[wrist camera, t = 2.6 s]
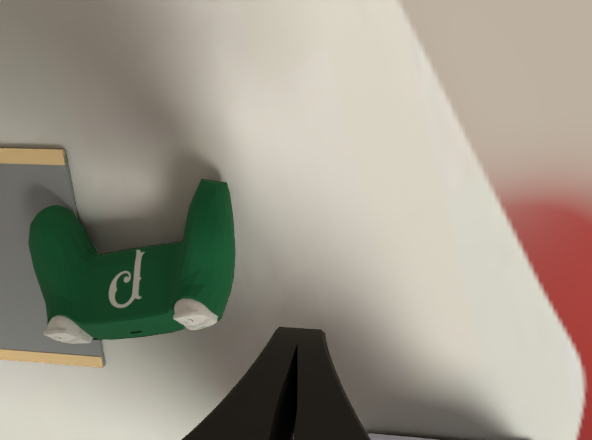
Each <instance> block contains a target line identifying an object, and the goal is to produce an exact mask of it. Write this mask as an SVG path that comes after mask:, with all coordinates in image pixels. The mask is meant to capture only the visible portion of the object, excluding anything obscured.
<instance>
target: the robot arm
mask: <svg viewBox="0 0 592 440" xmlns="http://www.w3.org/2000/svg"><path fill="white" fill-rule="evenodd" d="M293 435H294V438H293ZM182 440H438V439H427V438H416V437H405V436H394V435H383V434H372V433H370V434H367V433H366V431H365V429H364V428H363V426H362V424H361V422H360V421H359V419H358V417H357V415H356V413H355V411H354V409H353V407H352V406H351V404H350V402H349V400H348V398H347V396H346V393H345V391H344V389H343V387H342V385H341V382H340V380H339V378H338V375H337V373H336V371H335V368H334V365H333V363H332V360H331V357H330V354H329V351H328V347H327V343H326V338H325V333H324V332H323V331H322V330H317V329H302V328H286V327H279V328H278V329H277V330H276V331H275V332H274V334H273V336H272V338H271V339H270V341H269V342H268V344H267V345H266V347H265V348H264V350H263V351H262V353H261V354H260V355H259V357H258V358H257V359H256V361H255V362H254V363H253V365H252V366H251V367H250V369H249V370H248V371H247V373H246V374H245V375H244V376H243V377H242V379H241V380H240V381H239V382H238V383H237V384H236V386H235V387H234V388H233V389H232V390H231V391H230V393H229V394H228V395H227V396H226V397H225V398H224V399H223V400H222V401H221V403H220V404H219V405H218V406H217V407H216V408H215V409H214V410H213V411H212V412H211V413H210V414H209V415H208V416H207V417H206V418H205V419H204V420H203V421H202V422H201V423H200V424H199V425H198V426H196V427H195V428H194V429H193V430H192V431H191V432H190V433H189V434H188V435H186V436H185V437H184V438H183V439H182Z"/></svg>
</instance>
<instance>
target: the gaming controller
mask: <svg viewBox="0 0 592 440" xmlns="http://www.w3.org/2000/svg"><path fill="white" fill-rule="evenodd" d="M28 245H29V249H30V254H31V259H32V263H33V268H34V271H35V274H36V277H37V280H38V283H39V286H40V289H41V292H42V295H43V298H44V301H45V304H46V311H47V324H48V327H47V330H45V331H44V333H43V335H46V336H48V337H50V338H52V339H54V340H56V341H60V342H64V343H70V344H80V343H91V341H92V340H102V339H109V340H111V339H124V338H135V337H145V336H151V335H158V334H164V333H171V332H175V331H178V330H182V329H185V328H188V329H189V330H198V329H203V328H206V327H209V326H212V325H213V324H215V323H216V322H217V321H219V320H220V319H221V318H222V315H223V312H224V310H225V307H226V304H227V301H228V298H229V295H230V292H231V287H232V282H233V277H234V265H235V238H234V223H233V213H232V206H231V199H230V193H229V189H228V185H227V183H226V182H218V181H211V180H205V179H201V182H200V184H199V186H198V188H197V191H196V193H195V195H194V197H193V199H192V202H191V204H190V208H189V212H188V216H187V222H186V228H185V234H184V240H183V242H177V243H168V244H160V245H154V246H147V247H140V248H134V249H128V250H122V251H116V252H111V253H106V254H99V253H98V252H97V251H96V249H95V248H94V246H93V244H92V242H91V240H90V238H89V236H88V235H87V233H86V231H85V229H84V227H83V226H82V224H81V222H80V221H79V220H78V218H77V217H76V216H75V215H74V214H73V213H72V212H71V211H70V210H68V209H67V208H65V207H62V206H58V205H52V206H49V207H46V208H44V209H42V210H41V211H40V212H38V214H37V215H36V216H35V218H34V219H33V221H32V222H31V224H30V231H29V241H28Z"/></svg>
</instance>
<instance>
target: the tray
mask: <svg viewBox="0 0 592 440" xmlns="http://www.w3.org/2000/svg"><path fill="white" fill-rule="evenodd" d="M52 205H58V206H62V207H65V208H67V209H68V210H70V211H71V212H72V213H73V214H74V215H75V216H76V217H77V218H78V215H77V209H76V204H75V198H74V193H73V188H72V182H71V177H70V172H69V166H68V161H67V156H66V150H65V149H39V148H0V359H1V360H14V361H26V362H39V363H51V364H64V365H76V366H89V367H101V368H103V367H104V366H105V360H104V354H103V349H102V343H101V340H92V341H91V343H80V344H70V343H64V342H60V341H56V340H54V339H52V338H50V337H48V336H46V335H43V333H44V331H45V330H47V327H48V324H47V311H46V304H45V301H44V298H43V295H42V292H41V289H40V286H39V283H38V280H37V277H36V274H35V271H34V268H33V263H32V259H31V254H30V249H29V245H28V241H29V231H30V224H31V222H32V221H33V219H34V218H35V216H36V215H37V214H38V212H40V211H41V210H42V209H44V208H46V207H49V206H52Z"/></svg>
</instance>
